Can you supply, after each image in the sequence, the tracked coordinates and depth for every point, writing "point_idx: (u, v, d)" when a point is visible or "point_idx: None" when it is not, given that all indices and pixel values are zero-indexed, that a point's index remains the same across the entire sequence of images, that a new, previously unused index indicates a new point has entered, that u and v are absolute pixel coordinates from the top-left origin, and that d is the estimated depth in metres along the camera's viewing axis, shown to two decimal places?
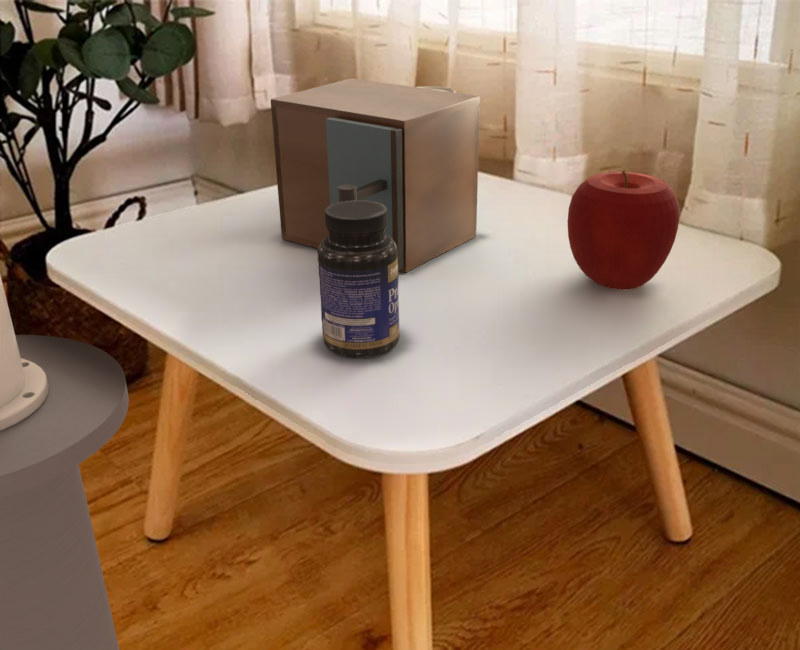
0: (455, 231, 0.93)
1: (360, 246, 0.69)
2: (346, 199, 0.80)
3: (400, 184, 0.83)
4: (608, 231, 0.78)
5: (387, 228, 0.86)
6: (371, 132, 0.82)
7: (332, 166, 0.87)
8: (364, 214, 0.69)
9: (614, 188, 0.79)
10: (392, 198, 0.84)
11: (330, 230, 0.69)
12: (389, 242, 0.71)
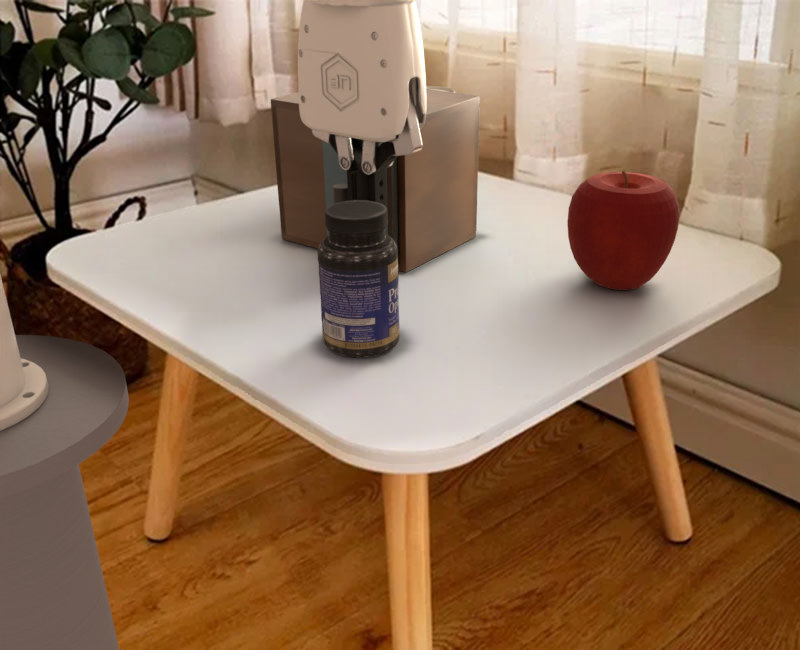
0: (455, 231, 0.93)
1: (361, 246, 0.69)
2: (341, 198, 0.80)
3: (395, 183, 0.84)
4: (608, 231, 0.79)
5: None
6: None
7: (327, 165, 0.87)
8: (364, 214, 0.69)
9: (614, 188, 0.79)
10: (387, 197, 0.84)
11: (330, 230, 0.69)
12: (389, 241, 0.71)
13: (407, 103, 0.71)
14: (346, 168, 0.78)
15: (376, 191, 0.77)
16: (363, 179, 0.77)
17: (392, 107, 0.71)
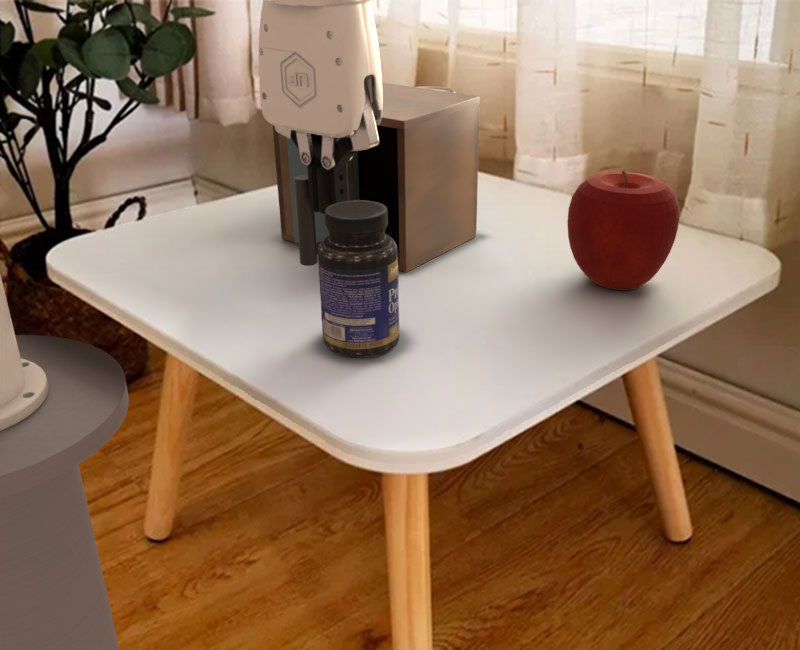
0: (455, 231, 0.93)
1: (361, 246, 0.69)
2: (302, 189, 0.82)
3: (356, 175, 0.86)
4: (608, 231, 0.79)
5: None
6: None
7: (291, 158, 0.89)
8: (364, 214, 0.69)
9: (614, 188, 0.79)
10: (349, 188, 0.87)
11: (330, 230, 0.69)
12: (389, 241, 0.71)
13: (362, 100, 0.74)
14: (307, 163, 0.80)
15: (336, 185, 0.80)
16: (323, 174, 0.79)
17: (348, 104, 0.73)
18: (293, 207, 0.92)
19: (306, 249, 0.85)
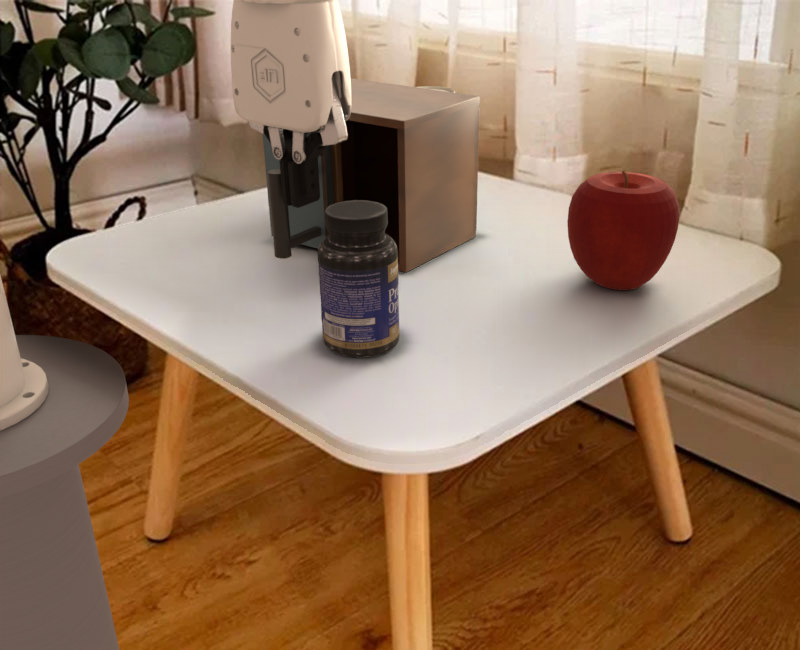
0: (455, 231, 0.93)
1: (361, 246, 0.69)
2: (275, 183, 0.84)
3: (330, 170, 0.88)
4: (608, 231, 0.79)
5: (319, 212, 0.90)
6: None
7: (267, 153, 0.91)
8: (364, 214, 0.69)
9: (614, 188, 0.79)
10: (322, 183, 0.88)
11: (330, 230, 0.69)
12: (389, 241, 0.71)
13: (330, 95, 0.76)
14: (279, 157, 0.82)
15: (307, 179, 0.82)
16: (294, 168, 0.81)
17: (315, 99, 0.75)
18: (269, 202, 0.94)
19: (280, 242, 0.87)
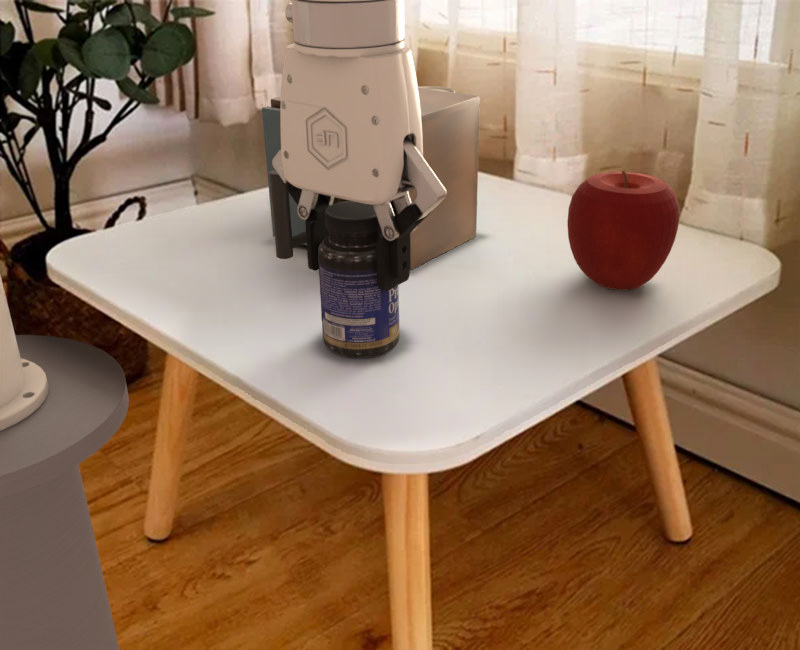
0: (455, 231, 0.93)
1: (361, 246, 0.69)
2: (277, 183, 0.84)
3: None
4: (608, 231, 0.79)
5: None
6: None
7: (269, 153, 0.91)
8: (364, 214, 0.69)
9: (614, 188, 0.79)
10: None
11: (330, 230, 0.69)
12: None
13: (401, 162, 0.64)
14: (302, 216, 0.72)
15: (399, 258, 0.68)
16: (384, 245, 0.68)
17: (385, 168, 0.63)
18: (271, 202, 0.94)
19: (282, 242, 0.87)
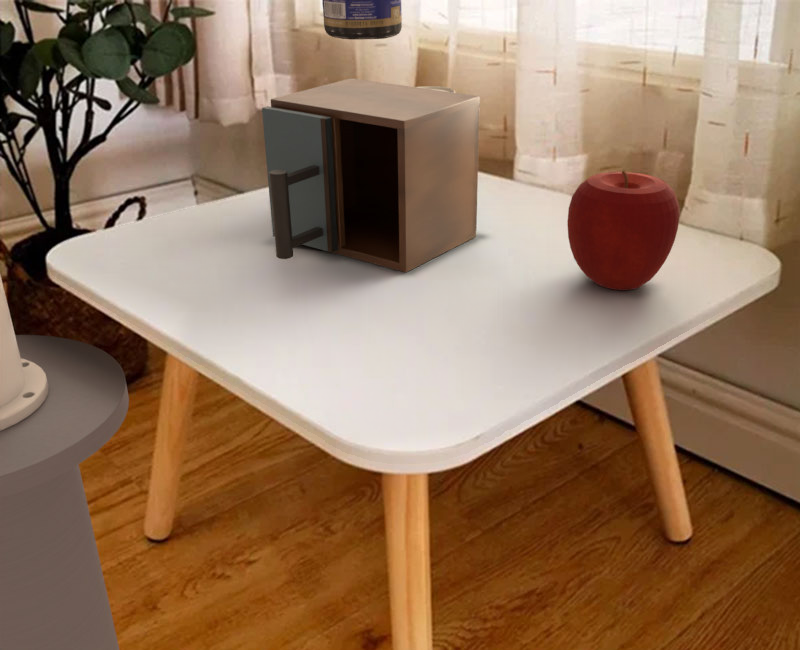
0: (455, 231, 0.93)
1: None
2: (277, 183, 0.84)
3: (332, 170, 0.88)
4: (608, 231, 0.79)
5: (321, 212, 0.90)
6: (303, 120, 0.87)
7: (269, 153, 0.91)
8: None
9: (614, 188, 0.79)
10: (324, 183, 0.88)
11: None
12: None
13: None
14: None
15: None
16: None
17: None
18: (271, 202, 0.94)
19: (282, 242, 0.87)
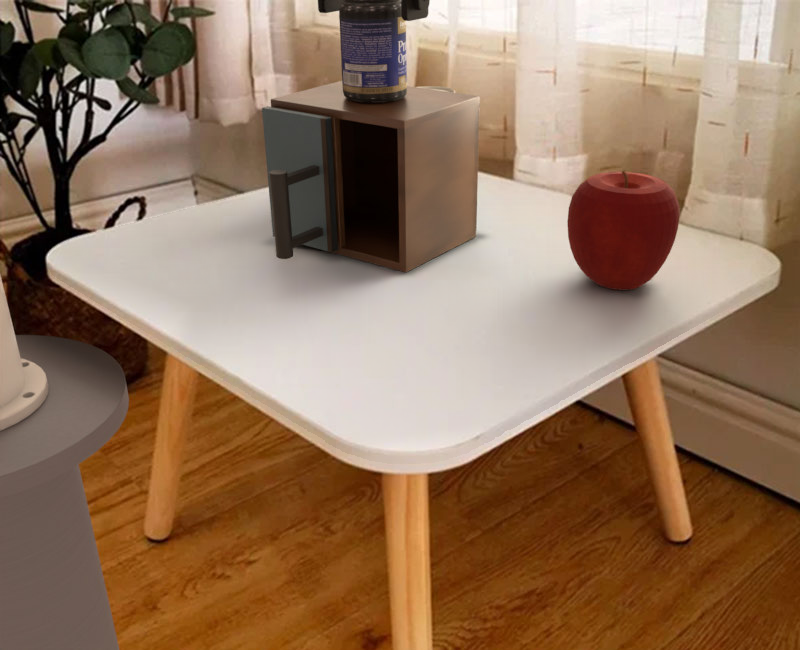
0: (455, 231, 0.93)
1: None
2: (277, 183, 0.84)
3: (332, 170, 0.88)
4: (608, 231, 0.79)
5: (321, 212, 0.90)
6: (303, 120, 0.87)
7: (269, 153, 0.91)
8: None
9: (614, 188, 0.79)
10: (324, 183, 0.88)
11: None
12: (399, 0, 0.85)
13: None
14: None
15: None
16: None
17: None
18: (271, 202, 0.94)
19: (282, 242, 0.87)
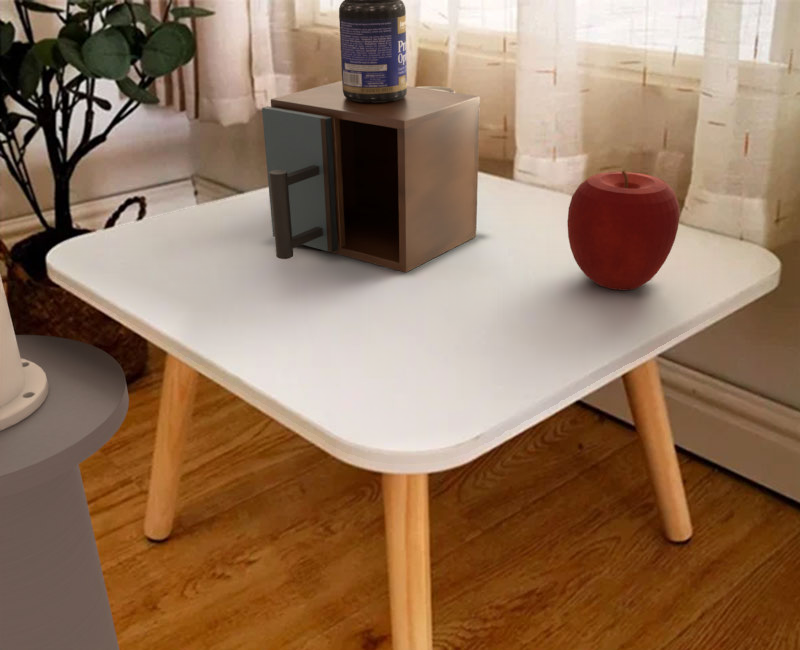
0: (455, 231, 0.93)
1: None
2: (277, 183, 0.84)
3: (332, 170, 0.88)
4: (608, 231, 0.79)
5: (321, 212, 0.90)
6: (303, 120, 0.87)
7: (269, 153, 0.91)
8: None
9: (614, 188, 0.79)
10: (324, 183, 0.88)
11: None
12: (399, 0, 0.85)
13: None
14: None
15: None
16: None
17: None
18: (271, 202, 0.94)
19: (282, 242, 0.87)
